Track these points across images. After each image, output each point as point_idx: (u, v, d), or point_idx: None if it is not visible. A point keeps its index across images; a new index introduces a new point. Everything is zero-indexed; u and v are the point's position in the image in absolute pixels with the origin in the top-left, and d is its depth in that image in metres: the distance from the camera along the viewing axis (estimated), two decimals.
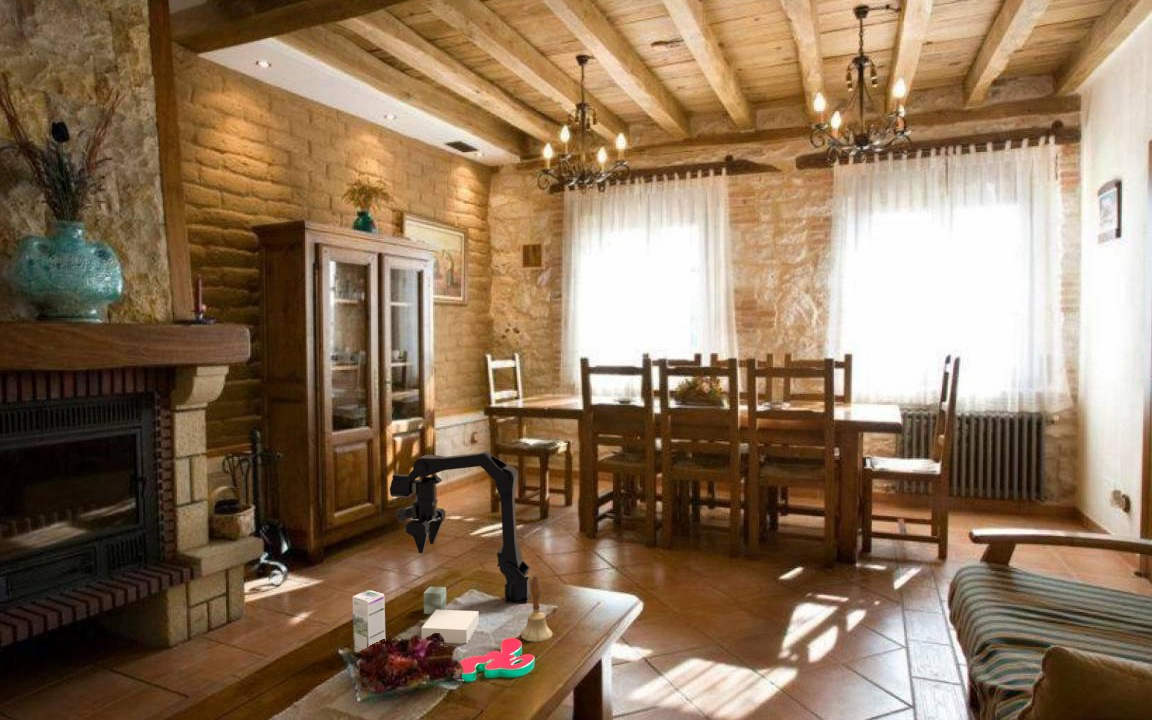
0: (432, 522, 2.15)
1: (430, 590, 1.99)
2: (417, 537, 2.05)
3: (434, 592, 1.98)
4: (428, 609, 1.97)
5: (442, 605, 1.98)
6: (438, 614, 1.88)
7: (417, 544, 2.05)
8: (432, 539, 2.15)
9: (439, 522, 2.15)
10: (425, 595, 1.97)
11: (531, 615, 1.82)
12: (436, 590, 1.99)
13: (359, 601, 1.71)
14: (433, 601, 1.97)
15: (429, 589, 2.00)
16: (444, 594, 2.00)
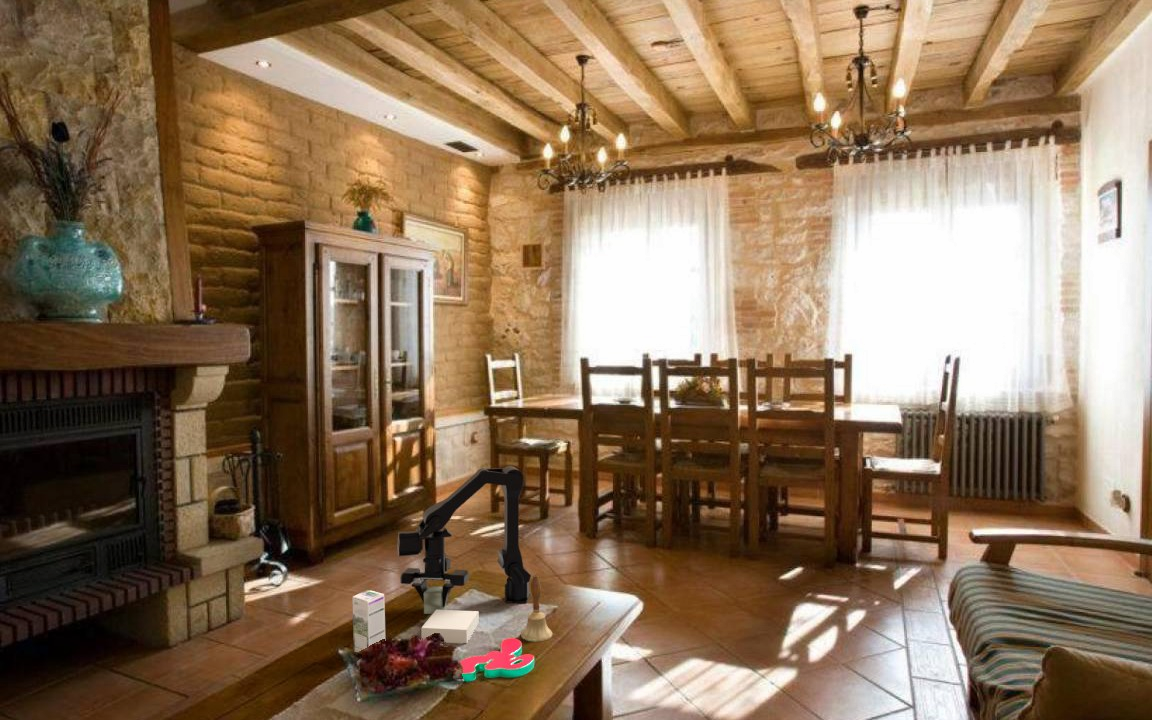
0: None
1: (430, 590, 1.99)
2: None
3: (434, 591, 1.98)
4: (428, 608, 1.97)
5: (442, 605, 1.98)
6: (438, 614, 1.88)
7: None
8: None
9: None
10: (425, 595, 1.97)
11: (531, 615, 1.82)
12: (436, 590, 1.99)
13: (359, 601, 1.71)
14: (433, 601, 1.97)
15: (429, 589, 2.00)
16: None
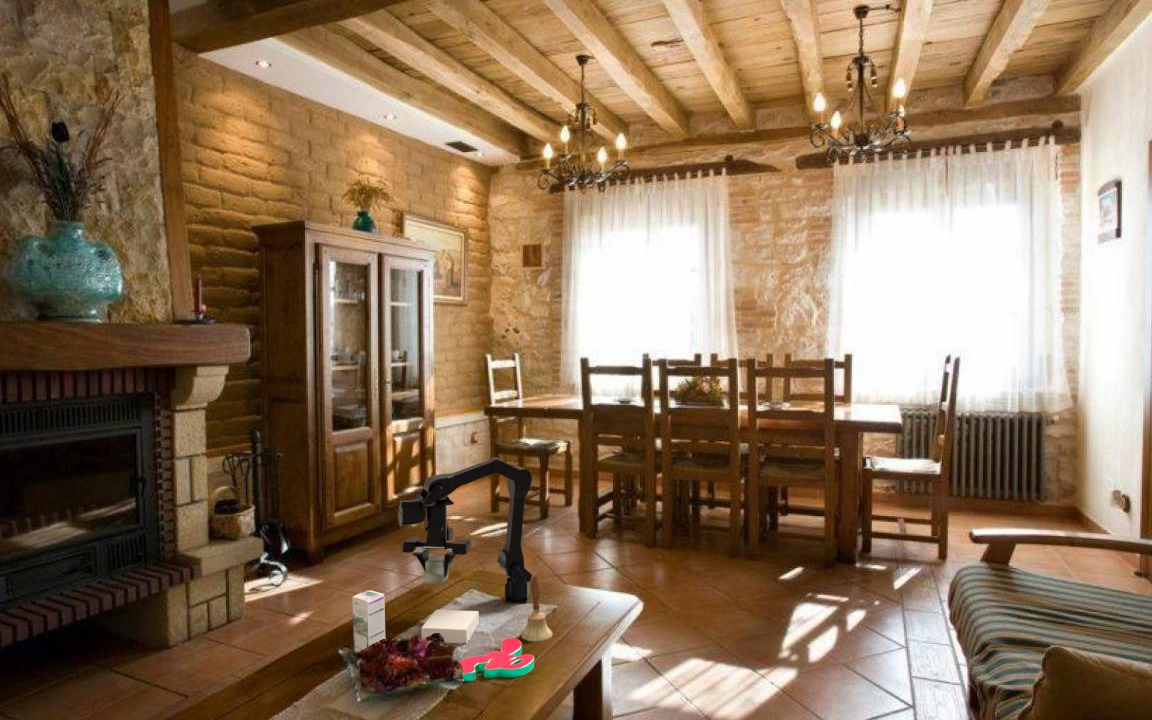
0: None
1: (432, 559, 1.96)
2: None
3: (436, 560, 1.95)
4: (429, 578, 1.94)
5: (444, 574, 1.95)
6: (438, 614, 1.88)
7: None
8: None
9: None
10: (427, 564, 1.94)
11: (531, 615, 1.82)
12: (438, 559, 1.96)
13: (359, 601, 1.71)
14: (435, 570, 1.94)
15: (431, 558, 1.97)
16: None
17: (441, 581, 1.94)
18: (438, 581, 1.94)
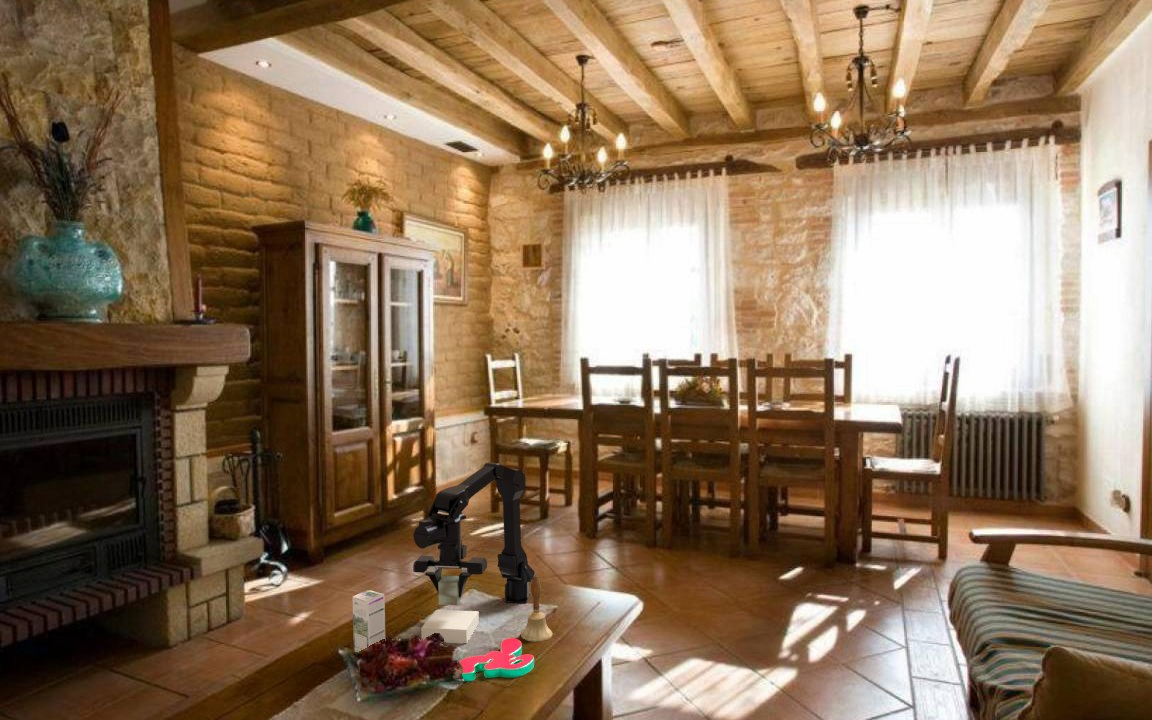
0: None
1: (446, 579, 1.84)
2: None
3: (450, 581, 1.83)
4: (443, 599, 1.82)
5: (458, 595, 1.83)
6: (438, 614, 1.88)
7: None
8: None
9: None
10: (440, 584, 1.82)
11: (531, 615, 1.82)
12: (451, 579, 1.84)
13: (359, 601, 1.71)
14: (449, 591, 1.82)
15: (444, 578, 1.85)
16: None
17: (455, 603, 1.81)
18: (452, 603, 1.82)
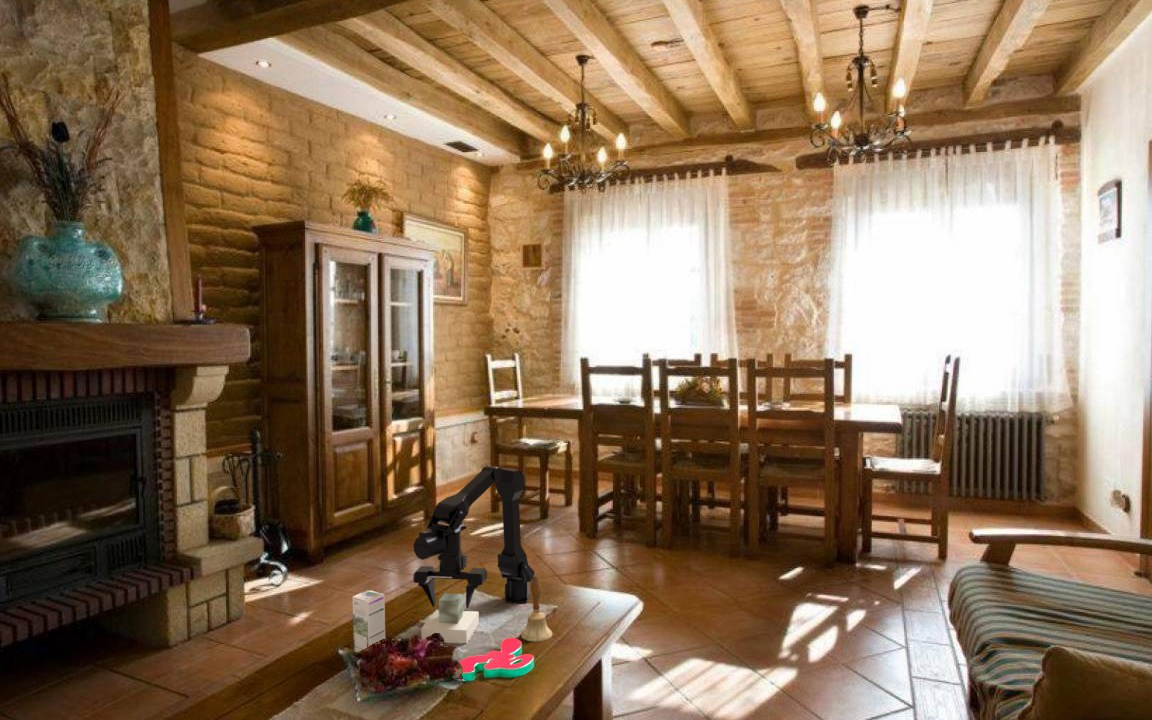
0: None
1: (446, 597, 1.84)
2: None
3: (450, 599, 1.83)
4: (443, 617, 1.82)
5: (459, 613, 1.83)
6: (438, 614, 1.88)
7: None
8: None
9: None
10: (440, 603, 1.82)
11: (531, 615, 1.82)
12: (452, 597, 1.84)
13: (359, 601, 1.71)
14: (449, 609, 1.82)
15: (444, 596, 1.85)
16: (460, 601, 1.85)
17: (456, 621, 1.82)
18: (452, 621, 1.82)
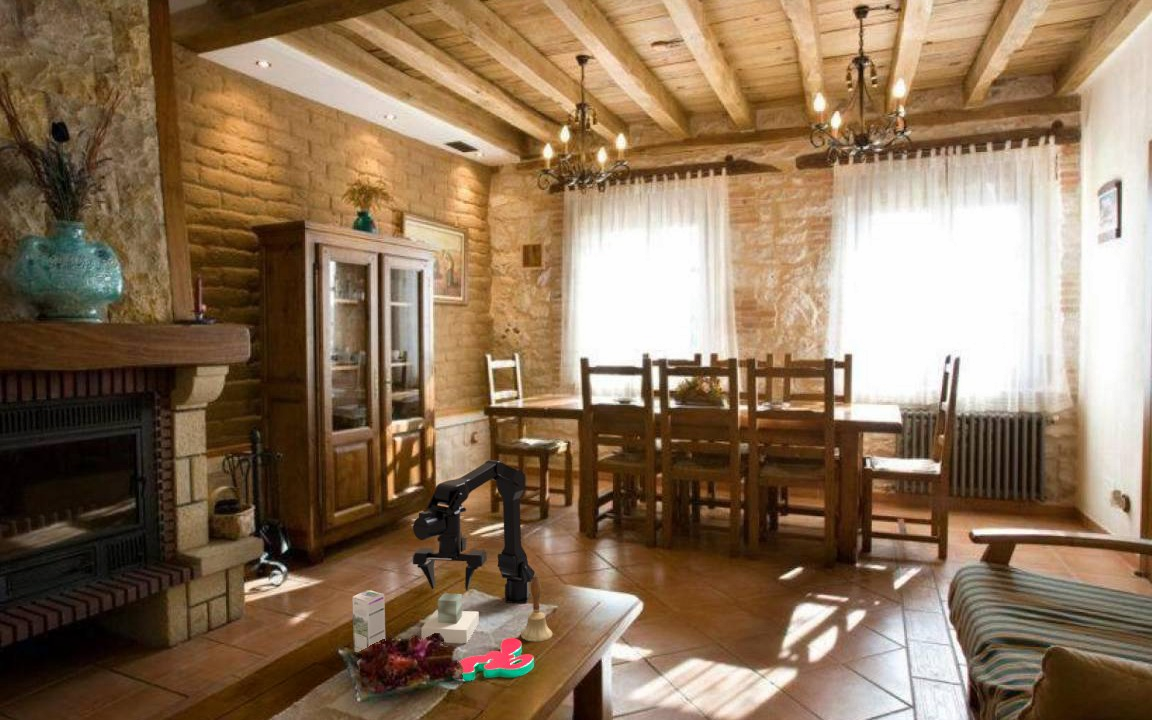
0: None
1: (445, 597, 1.84)
2: None
3: (449, 599, 1.83)
4: (442, 617, 1.82)
5: (458, 613, 1.83)
6: None
7: None
8: None
9: None
10: (439, 602, 1.82)
11: (531, 615, 1.82)
12: (451, 597, 1.84)
13: (359, 601, 1.71)
14: (448, 609, 1.82)
15: (444, 596, 1.85)
16: (460, 601, 1.85)
17: (455, 621, 1.82)
18: (451, 621, 1.82)
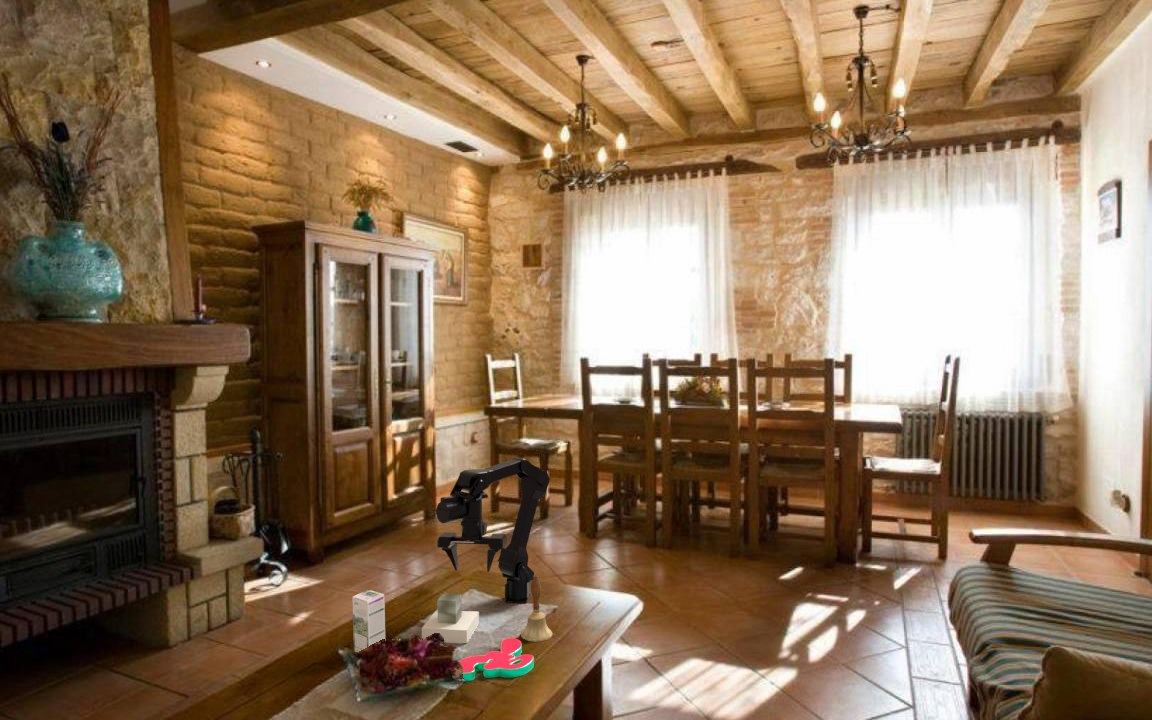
0: None
1: (445, 597, 1.84)
2: None
3: (449, 599, 1.83)
4: (442, 617, 1.82)
5: (457, 613, 1.83)
6: None
7: None
8: None
9: None
10: (439, 602, 1.82)
11: (531, 615, 1.82)
12: (451, 597, 1.84)
13: (359, 601, 1.71)
14: (447, 609, 1.82)
15: (443, 596, 1.85)
16: (459, 601, 1.85)
17: (454, 621, 1.82)
18: (451, 621, 1.82)
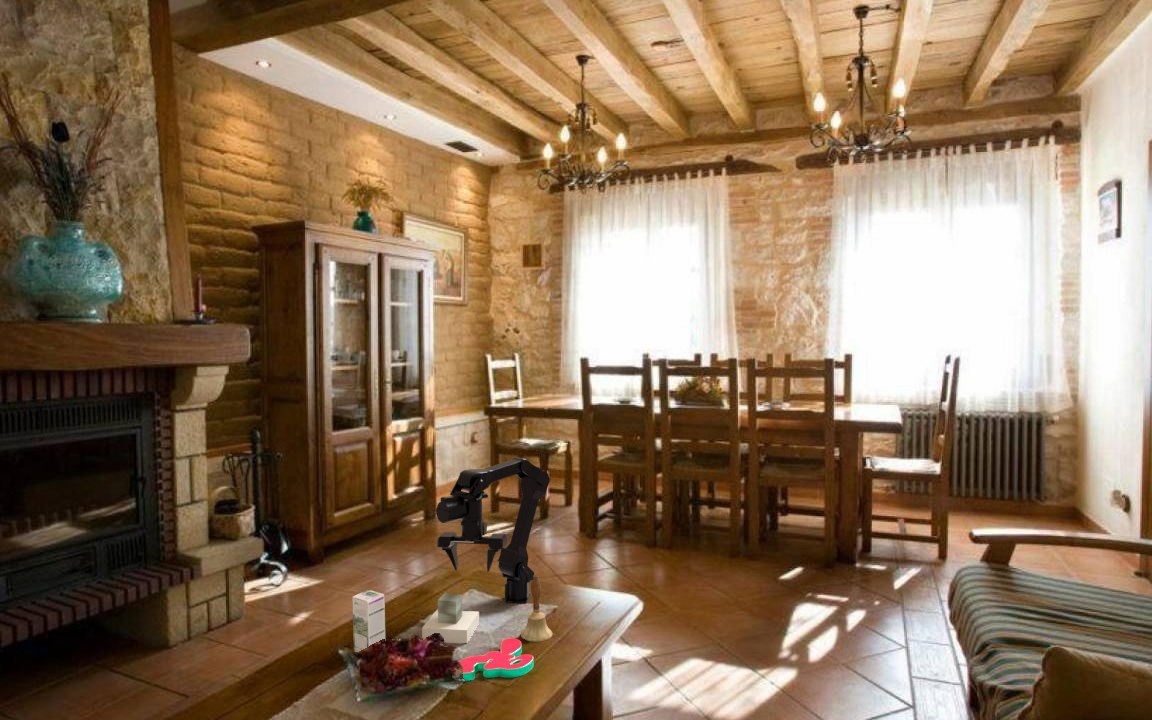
0: None
1: (445, 597, 1.84)
2: None
3: (449, 599, 1.83)
4: (442, 617, 1.82)
5: (458, 613, 1.83)
6: None
7: None
8: None
9: None
10: (439, 602, 1.82)
11: (531, 615, 1.82)
12: (451, 597, 1.84)
13: (359, 601, 1.71)
14: (448, 609, 1.82)
15: (444, 596, 1.85)
16: (460, 601, 1.85)
17: (455, 621, 1.82)
18: (451, 621, 1.82)
